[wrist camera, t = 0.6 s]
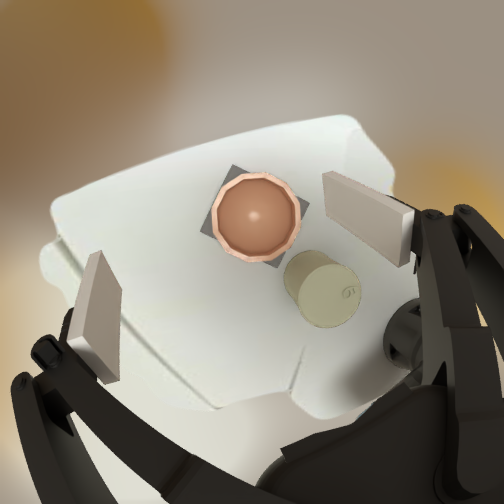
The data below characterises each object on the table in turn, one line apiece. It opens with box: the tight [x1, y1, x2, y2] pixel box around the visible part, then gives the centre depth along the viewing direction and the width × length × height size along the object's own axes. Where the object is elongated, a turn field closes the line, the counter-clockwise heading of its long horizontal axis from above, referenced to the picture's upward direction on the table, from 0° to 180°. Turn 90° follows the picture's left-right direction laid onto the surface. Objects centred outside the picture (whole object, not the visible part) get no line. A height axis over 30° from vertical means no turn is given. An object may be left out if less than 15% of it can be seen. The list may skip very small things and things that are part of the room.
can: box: [284, 251, 361, 328], centre depth 43 cm, size 9×9×12 cm
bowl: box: [211, 172, 301, 262], centre depth 45 cm, size 13×13×3 cm
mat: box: [200, 164, 310, 268], centre depth 47 cm, size 14×12×1 cm
